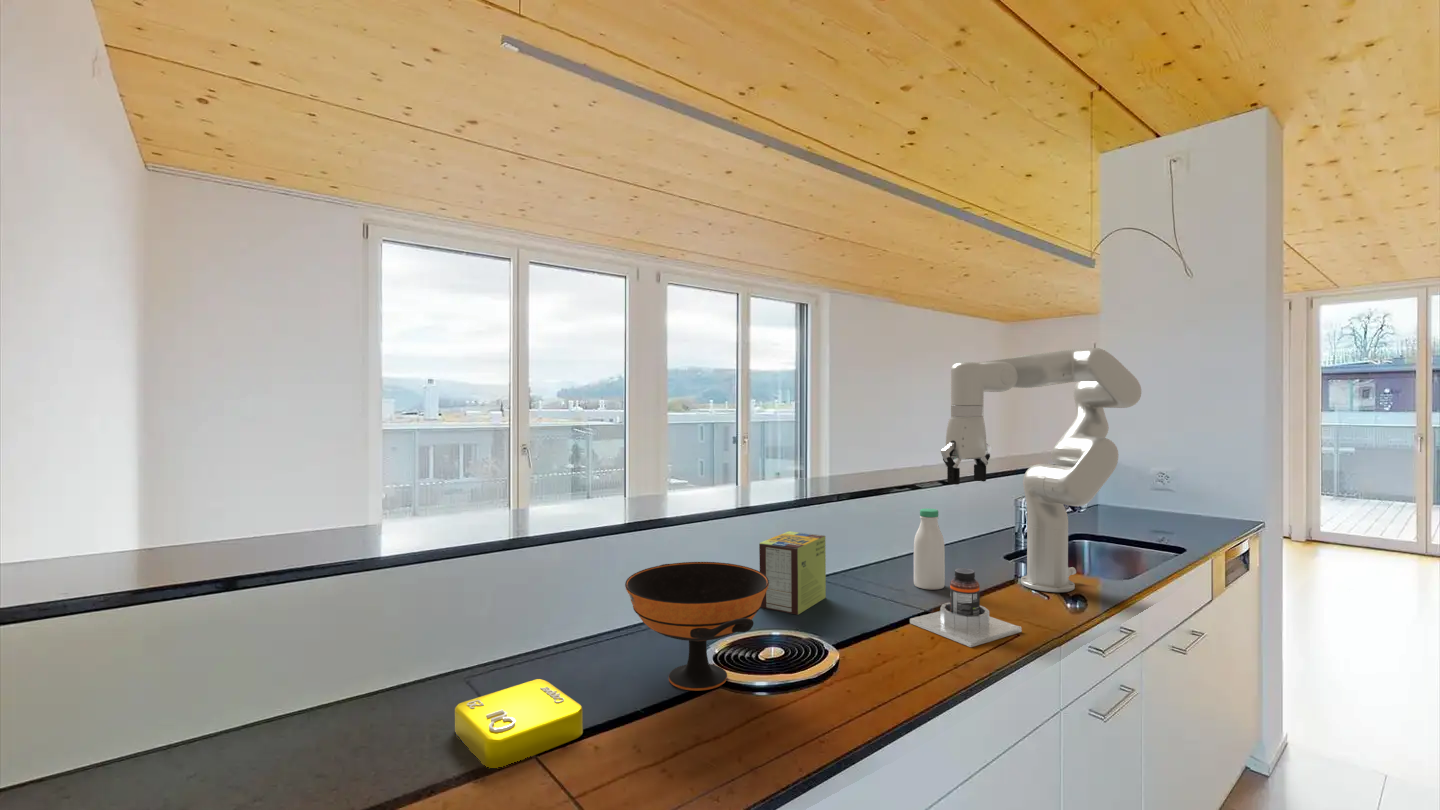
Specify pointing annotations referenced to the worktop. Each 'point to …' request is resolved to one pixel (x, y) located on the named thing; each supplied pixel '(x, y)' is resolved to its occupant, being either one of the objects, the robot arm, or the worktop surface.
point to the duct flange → (965, 626)
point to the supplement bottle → (964, 593)
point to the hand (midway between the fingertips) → (966, 482)
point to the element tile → (518, 722)
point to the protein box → (793, 571)
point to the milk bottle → (929, 552)
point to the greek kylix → (697, 610)
